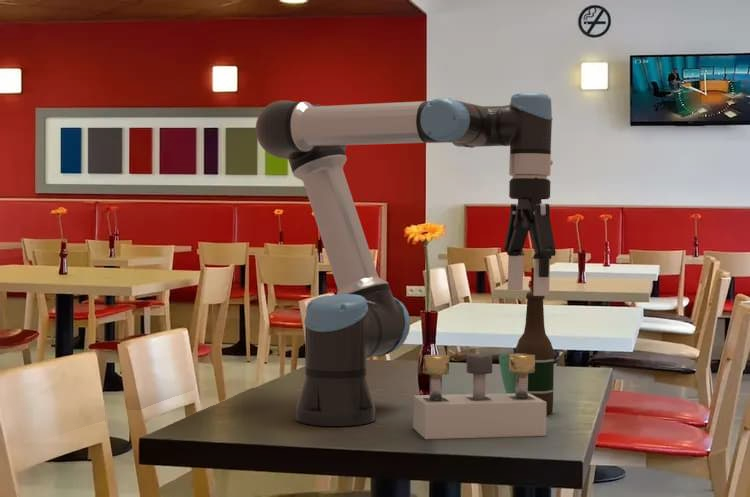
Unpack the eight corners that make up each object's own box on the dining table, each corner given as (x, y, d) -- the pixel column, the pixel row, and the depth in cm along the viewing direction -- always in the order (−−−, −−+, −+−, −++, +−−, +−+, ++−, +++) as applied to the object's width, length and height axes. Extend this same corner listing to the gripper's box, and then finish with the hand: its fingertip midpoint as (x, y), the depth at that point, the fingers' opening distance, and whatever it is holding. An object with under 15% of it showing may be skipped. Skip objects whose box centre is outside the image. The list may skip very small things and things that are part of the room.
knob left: (426, 403, 191) (426, 358, 191) (420, 398, 195) (420, 354, 195) (451, 402, 192) (451, 357, 191) (445, 398, 196) (445, 354, 196)
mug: (538, 410, 217) (538, 361, 217) (491, 406, 221) (492, 358, 221) (558, 400, 230) (559, 353, 230) (514, 396, 235) (515, 350, 234)
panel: (425, 439, 188) (425, 404, 188) (413, 427, 198) (413, 395, 198) (546, 435, 192) (546, 402, 192) (528, 425, 202) (528, 393, 202)
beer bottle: (527, 417, 210) (528, 294, 209) (506, 410, 217) (508, 291, 216) (561, 415, 213) (562, 293, 212) (539, 408, 220) (541, 290, 219)
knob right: (513, 401, 194) (513, 356, 193) (505, 397, 198) (506, 353, 198) (537, 400, 194) (538, 356, 194) (529, 396, 199) (530, 353, 199)
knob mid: (470, 402, 192) (470, 357, 192) (463, 398, 197) (463, 354, 197) (494, 401, 193) (495, 357, 193) (487, 397, 198) (488, 353, 197)
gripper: (575, 176, 188) (573, 298, 188) (525, 180, 212) (523, 287, 213) (535, 175, 186) (532, 298, 187) (488, 179, 211) (486, 287, 211)
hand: (527, 292), depth 200 cm, fingers open, 13 cm apart
